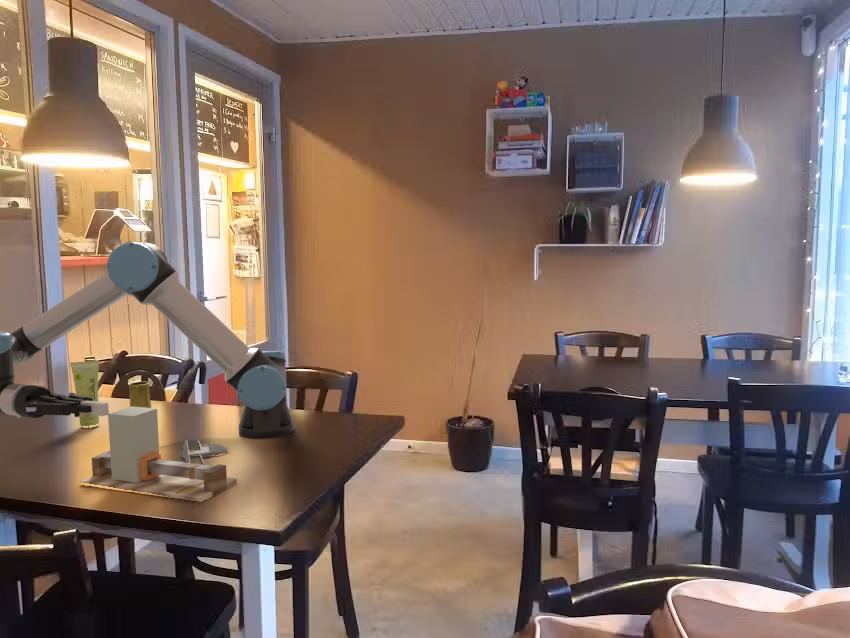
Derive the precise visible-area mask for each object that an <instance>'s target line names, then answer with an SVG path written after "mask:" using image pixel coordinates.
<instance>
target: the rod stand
mask: <svg viewBox="0 0 850 638" xmlns="http://www.w3.org/2000/svg"><path fill="white" fill-rule="evenodd" d="M147 465H148V473H152V474H160V475H158V476H156V477H154V478H151V479H149V480H142V481H140V482H138V483H136V482H128V481H121V480H114V479H112V471H111V455H110V450H108V451H106V452H103V453H101V454H98V455H96V456H92V457H91V471H92V475H91V476H89V477H87V478H84V479H82V480H79V483H80V482H83V483H89V484H94V485H101V486H108V487H113V488H119V489H124V490H132V491H138V492H147V493H152V494H157V495H162V496H168V497H174V498H182V499H188V500H193V501H199V502H202V501H204V500H206V499H208V498H210V497H211V498H213V497H215V496H216V494H217V495H218V494H220V493H221V492H224V491H225V490H226V489H228V488H231V487H232V486H234V485H236V484H237V483H238V482H237V481H238V480H237V478H234V477H227V475H228V474H227V465H226V464H220V463H219V464H216V465H210V464H209V465H208V464H205V465H203V464H202V463H191V462H190V463H185V462H184V461H175V460H166V459H161V460H160V459H151V460H149V461H147ZM214 495H215V496H214ZM212 496H213V497H212ZM211 498H210V499H211ZM208 500H209V499H208ZM206 501H207V500H206ZM204 502H205V501H204Z"/></svg>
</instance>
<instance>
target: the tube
mask: <svg viewBox="0 0 850 638" xmlns="http://www.w3.org/2000/svg"><path fill="white" fill-rule="evenodd" d="M69 364H70V368H71V372H72V376H73V377H72V378H73V382H74V388H75V394H76V395H81V396H85V397H90V398H92V400H93V401H96V402H99V367H100V359H99V360H88V361H75V362H73V361H72V362H69ZM78 418H79V425H81V426H90V425H96V424H98V423H99V424H100V416H98V415H89V414H81V412H80V416H79V417H78Z"/></svg>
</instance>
